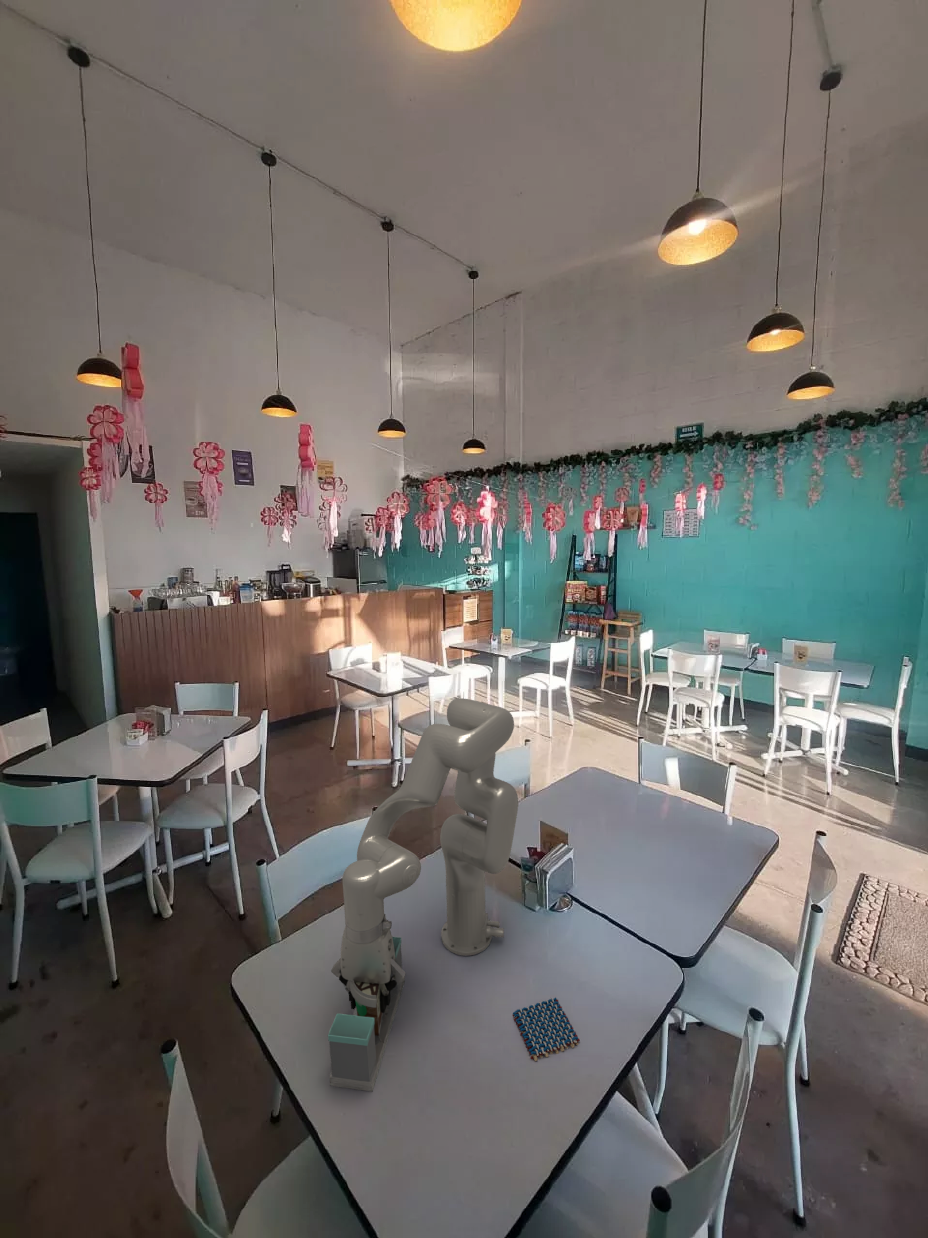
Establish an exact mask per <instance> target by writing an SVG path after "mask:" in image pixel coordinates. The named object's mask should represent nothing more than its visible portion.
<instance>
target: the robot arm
mask: <svg viewBox="0 0 928 1238" xmlns="http://www.w3.org/2000/svg"><path fill="white" fill-rule="evenodd" d="M446 719H447V722H448V724H449V725H448V724H444V723H433V724H432V723H431V724H430V725H428V726H427V727H426V728H425V729H424V731H423V732H422V735H421V737H420V739H419V741H418V744H417V747H416V749H415V751H414V754H413V757H412V759H411V760H410V761H411V762H410V764H409V766H408V769H407V772H406V774H405V777H404V779H403V782H402V783H401V786H400V788H399V789H397V791H396V792H395V793H393V794H392V795H390V796H389V797H387V798H386V799H385V800H384V801H383V802H382V803H381V804H380V805H379V806H378V807H377V808H375V810H374V811H373V812H372V814H371V816H370V817H369V819H368V821H367V823H366V825H365V827H364V830H363V833H362V835H361V837H360V840H359V843H358V847H357V851H356V860H355V861H354V862H352V863H350V864H349V865H348V866H347V867H346V868H345V869H344V871H343V874H342V891H343V893H342V894H343V907H344V909H343V910H344V922H345V927H344V929H343V932H342V938H341V948H340V958H339V959H338V960H337V961H336V962H335V963H334V964H333V966H332V967H331V970H330V972H331V974H333V975H334V976H335V977H336V978H338V980H339V981H340V983H342V984H343V986H344V987H345V990H346V992H347V993H348V1001H349V1002H350V1009H351V1010H355V1008H356V1002H355V998H354V997H353V995H352V993H351V990H350V982H351V981H353V980H354V981H359V982H368V983H378V984H379V986H380V989H381V994H380V1007H381V1012H382V1013H385V1010H386V1006H389V1004H390V1000H391V995H390V991H391V990H392V989H393V988H395V987H396V985H397V984H399V983H400V982H402V981H403V980H404V978H405V979H406V975H407V973H406V971H404V969H403V967H402V968H401V967H400V966H399V965H398V964H397V963H396V962H395V951H394V944H393V939H392V937H393V935H392V932H391V930H392V925H393V922H392V920H389V919H387V918H386V917H387V916H386V913H385V901H384V900H385V899H386V898H388V897H390V896H393V895H396V894H398V893H400V892H403V891H406V890H407V889H409V888H410V887H412V886H413V885H414V884H415V883H416V881H417V880H418V878H419V876H420V874H421V872H422V871H421V870H422V863H421V860H420V859H419V857H418V856H417V855H416V854H415V853H413V852H412V851H410V850H408V849H407V848H405V847H404V846H401V845H399V844H398V843H396V842H395V841H392V840H390V839H389V837H390V833H391V831H392V829H393V828H394V825H395V823H397V821H398V819H399V818H400V817H402V816H403V815H404V814H406V813H407V812H409V811H412V810H415V809H419V808H420V809H422V808H428V807H429V808H430V807H434V806H436V805H437V804H438V803H439V800H440V798H441V795H442V793H443V790H444V787H445V784H446V782H447V779H448V776H449V773H450V771H451V769H452V770H455V771H457V774H456V779H455V784H454V785H455V786H454V794H453V797H454V803H455V805H456V806H457V807H458V808H460V809H462V810H463V811H465V812H467V813H469V814H472V815H474V816H476V817H478V818H481V819H483V820H484V821H486V823H485V822H484V821H482V820H479V819H477V818H475V817H473V816H469V815H467V814H462V813H454V814H452V815H450V816H449V817H447V818H446V819H445V820H444V822H443V824H442V826H441V829H440V837H439V838H440V840H439V842H440V845H441V846H440V847H441V851H442V854H443V860H444V868H445V890H446V891H445V892H446V893H445V895H446V922H445V923H444V924H443V926H442V927H441V932H440V935H441V937H440V938H441V942H442V944H443V946H444V947H445V948H446V949H447V950H448V951H449V952H451V953H453V954H455V955H457V956H463V957H464V956H467V957H468V956H474V955H477V954H480V953H482V952H483V951H485V950H486V949H487V948H488V947H489V945H491V942H492V939H493V937H496V938H504V934H505V932H504V931H505V928H504V927H500V921H499V920H498V921H495V920H494V921H492V920H491V919H489V914H488V912H486V873H488V874H491V875H496V874H499V873H500V872H502V871H503V870H504V869H505V867H506V866H507V864H508V862H509V860H510V857H511V852H512V848H513V841H514V836H515V835H514V834H515V828H516V824H517V823H516V822H517V818H518V817H517V816H518V811H519V797H518V793H517V790H516V788H515V787H514V786H513V785H512V784H511V783H509V782H507V781H505V780H502V779H500V778H496V777H495V775H494V772H495V764H496V763H495V762H496V753H497V752H498V751H499V750H500V749H501V748H502V747H504V745H505V744H506V743H508V741H509V740H510V738H511V736H512V735H513V732H514V728H515V721H514V717H513V715H512V713H511V712H510V711H509V710H507V709H506V708H504V707H501V706H497V705H492V704H489V703H485V702H482V701H479V700H474V699H469V698H461V697H459V698H458V697H457V698H455V699H453V700H451V701H450V702H449V703H448V705H447V708H446ZM391 972H392V973H393V974H394V976H392V977H390V976H391Z"/></svg>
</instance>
